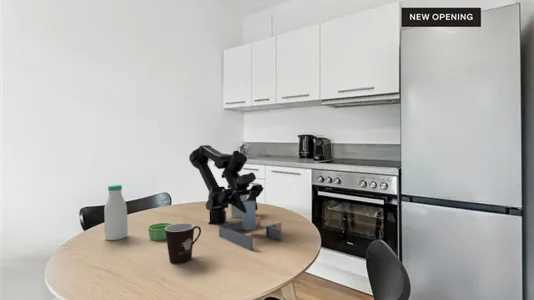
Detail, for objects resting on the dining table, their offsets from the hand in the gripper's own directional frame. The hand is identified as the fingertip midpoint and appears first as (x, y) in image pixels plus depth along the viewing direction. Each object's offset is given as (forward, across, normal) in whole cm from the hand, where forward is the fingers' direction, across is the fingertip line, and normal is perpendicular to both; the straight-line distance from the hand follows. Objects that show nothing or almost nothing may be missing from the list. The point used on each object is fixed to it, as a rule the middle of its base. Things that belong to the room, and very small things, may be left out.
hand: (251, 211), depth 109 cm
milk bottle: (-18, -38, +32) cm, 53 cm away
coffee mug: (+9, -28, +5) cm, 30 cm away
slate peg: (+4, 0, +6) cm, 7 cm away
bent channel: (+8, +1, +5) cm, 10 cm away
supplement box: (-13, +15, +27) cm, 33 cm away
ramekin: (-10, -26, +24) cm, 36 cm away
